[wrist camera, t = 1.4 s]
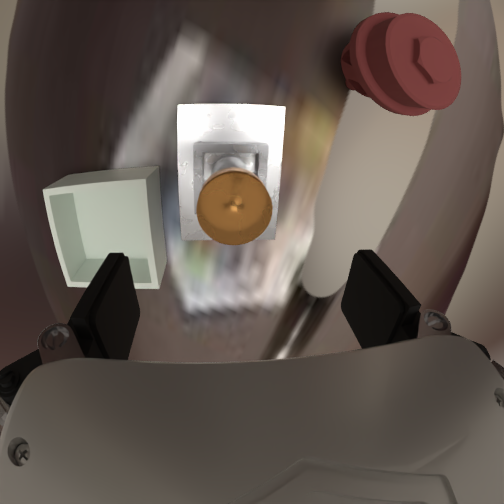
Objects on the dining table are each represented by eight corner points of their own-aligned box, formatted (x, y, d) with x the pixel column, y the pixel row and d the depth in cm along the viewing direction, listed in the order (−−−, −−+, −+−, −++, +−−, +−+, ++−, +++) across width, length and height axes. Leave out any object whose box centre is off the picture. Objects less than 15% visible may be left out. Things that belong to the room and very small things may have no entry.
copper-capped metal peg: (204, 151, 24) (195, 173, 16) (255, 151, 25) (275, 174, 16) (204, 198, 27) (197, 245, 18) (253, 198, 27) (269, 244, 19)
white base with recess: (180, 105, 24) (174, 104, 20) (280, 107, 25) (290, 106, 21) (183, 232, 30) (179, 249, 27) (271, 231, 31) (278, 248, 28)
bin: (68, 174, 25) (42, 189, 20) (159, 165, 26) (145, 178, 21) (85, 261, 31) (67, 286, 26) (167, 260, 32) (159, 288, 27)
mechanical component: (411, 74, 23) (370, 128, 26) (352, 14, 19) (303, 68, 23) (487, 75, 12) (444, 147, 16) (418, -17, 9) (358, 46, 12)
